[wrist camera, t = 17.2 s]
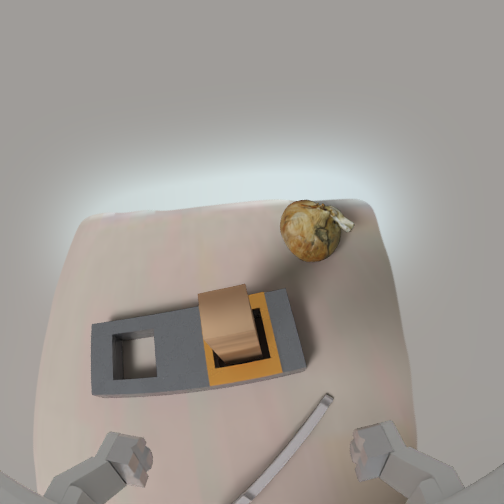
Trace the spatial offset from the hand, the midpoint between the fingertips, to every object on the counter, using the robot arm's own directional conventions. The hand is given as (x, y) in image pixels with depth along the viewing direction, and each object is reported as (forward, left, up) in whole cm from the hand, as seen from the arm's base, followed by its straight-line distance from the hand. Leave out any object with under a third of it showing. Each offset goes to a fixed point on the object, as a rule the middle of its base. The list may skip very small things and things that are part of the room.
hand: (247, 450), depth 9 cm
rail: (+10, +7, -19) cm, 23 cm away
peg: (+10, +1, -19) cm, 22 cm away
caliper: (-5, +1, -20) cm, 20 cm away
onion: (+21, -10, -19) cm, 30 cm away
